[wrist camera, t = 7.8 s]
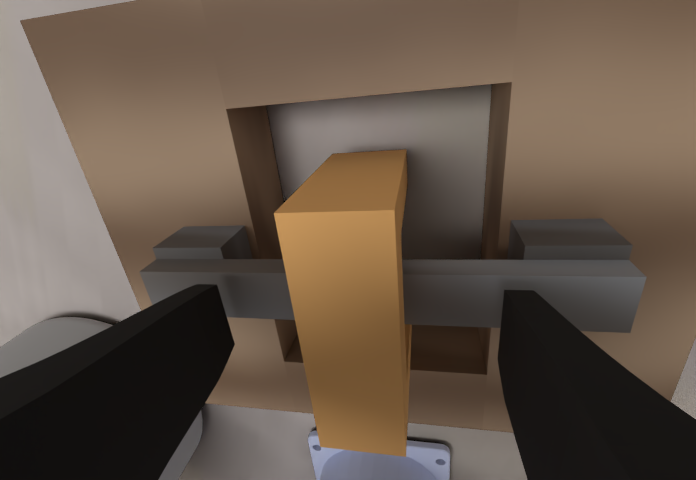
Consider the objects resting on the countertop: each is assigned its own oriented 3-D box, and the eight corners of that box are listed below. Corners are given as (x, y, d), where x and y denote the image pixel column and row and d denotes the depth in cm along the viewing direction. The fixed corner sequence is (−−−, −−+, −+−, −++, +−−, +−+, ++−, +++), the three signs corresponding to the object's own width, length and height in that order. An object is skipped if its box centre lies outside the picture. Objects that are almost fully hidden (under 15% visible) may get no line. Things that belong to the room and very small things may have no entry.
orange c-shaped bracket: (411, 328, 15) (406, 456, 10) (352, 326, 16) (320, 447, 11) (406, 149, 12) (394, 210, 7) (332, 153, 12) (274, 213, 8)
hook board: (615, 382, 16) (698, 521, 11) (210, 356, 20) (143, 449, 15) (748, -75, 9) (1103, -224, 4) (99, 28, 13) (-83, 10, 9)
